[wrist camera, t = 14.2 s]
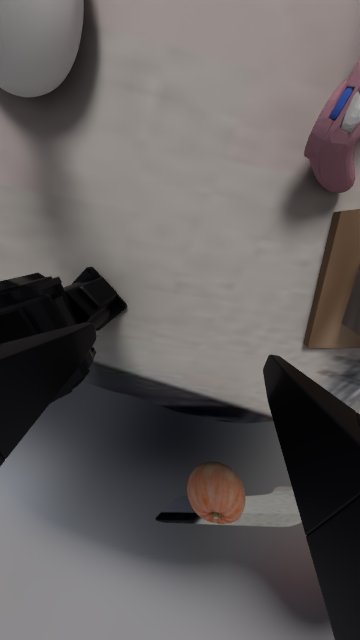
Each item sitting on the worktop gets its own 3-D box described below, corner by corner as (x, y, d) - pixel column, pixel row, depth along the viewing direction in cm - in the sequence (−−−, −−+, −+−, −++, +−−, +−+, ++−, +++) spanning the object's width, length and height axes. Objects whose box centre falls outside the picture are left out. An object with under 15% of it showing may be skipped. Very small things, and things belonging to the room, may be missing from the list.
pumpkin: (219, 446, 34) (222, 503, 27) (252, 474, 36) (263, 533, 29) (178, 460, 38) (172, 512, 31) (210, 484, 40) (211, 538, 33)
